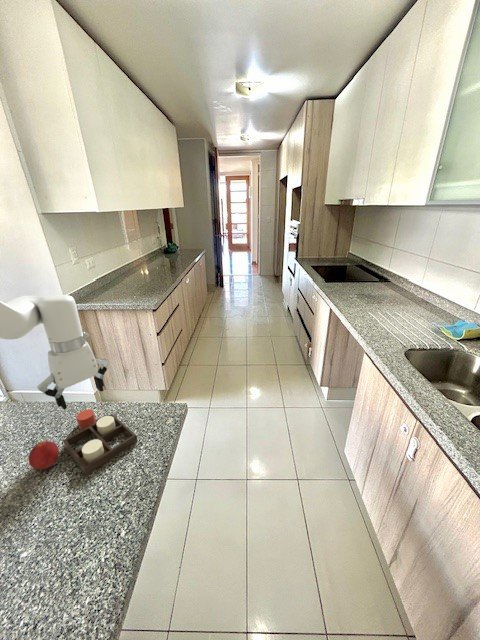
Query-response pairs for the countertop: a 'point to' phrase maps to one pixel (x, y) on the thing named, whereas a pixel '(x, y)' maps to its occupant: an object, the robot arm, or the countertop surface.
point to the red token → (86, 419)
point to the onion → (43, 455)
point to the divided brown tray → (105, 438)
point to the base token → (92, 451)
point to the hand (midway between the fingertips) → (82, 397)
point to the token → (105, 425)
